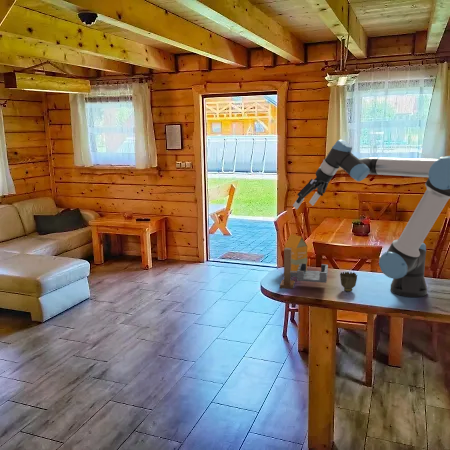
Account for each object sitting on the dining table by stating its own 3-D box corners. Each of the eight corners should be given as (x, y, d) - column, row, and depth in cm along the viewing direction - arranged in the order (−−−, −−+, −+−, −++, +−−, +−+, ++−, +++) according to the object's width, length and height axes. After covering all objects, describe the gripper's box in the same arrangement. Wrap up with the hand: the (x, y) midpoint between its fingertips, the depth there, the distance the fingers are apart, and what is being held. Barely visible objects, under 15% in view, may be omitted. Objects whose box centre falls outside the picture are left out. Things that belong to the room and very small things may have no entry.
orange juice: (295, 276, 222) (296, 237, 217) (284, 272, 229) (284, 234, 225) (307, 273, 226) (308, 235, 222) (295, 269, 233) (296, 232, 229)
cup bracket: (327, 283, 210) (328, 247, 206) (325, 293, 198) (327, 254, 194) (283, 280, 216) (283, 244, 212) (279, 289, 203) (279, 251, 200)
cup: (358, 293, 197) (359, 276, 195) (341, 293, 197) (342, 276, 195) (354, 287, 204) (354, 271, 202) (337, 288, 204) (338, 271, 203)
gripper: (335, 164, 213) (312, 197, 225) (305, 167, 195) (282, 203, 207) (346, 173, 210) (322, 207, 221) (317, 178, 192) (293, 214, 204)
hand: (303, 205), depth 214 cm, fingers open, 13 cm apart
